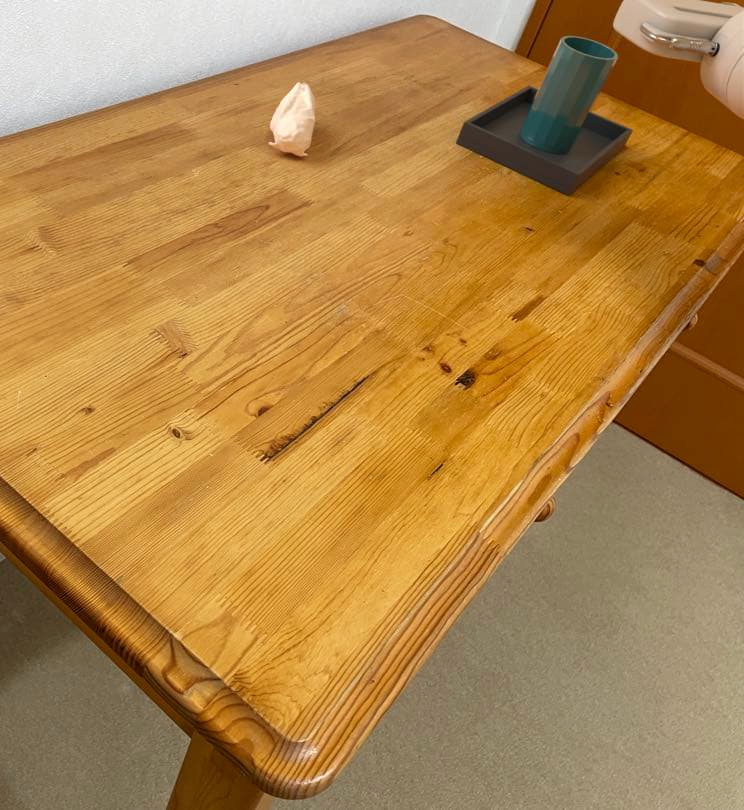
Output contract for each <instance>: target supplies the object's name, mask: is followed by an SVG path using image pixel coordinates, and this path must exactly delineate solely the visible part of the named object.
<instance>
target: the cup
mask: <svg viewBox="0 0 744 810" xmlns="http://www.w3.org/2000/svg"><path fill="white" fill-rule="evenodd" d="M618 59H619V55H618V53H617V52H616V51H615V50H614V49H613V48H611V47H609V46H607V45H606V44H604V43H601V42H599V41H596V40H593V39H589V38H586V37H582V36H576V35H564V36H562V37H561V38H560V40H559V42H558V44H557V47H556V49H555V50H554V53H553V55H552V58H551V60H550V62H549V64H548V67H547V69H546V71H545V73H544V75H543V78H542V80H541V82H540V83H539V86H538V88H537V89H538V91H537V93H536V95H535V98H534V100H533V102H532V104H531V107H530V109H529V111H528V113H527V115H526V118H525V120H524V122H523V124H522V128H521V130H520V133H519V134H520V137H521V138H522V139H523V140H524V141H525V142H526V143H528V144H529V145H531V146H533V147H535V148H537V149H540V150H542V151H546V152H550V153H555V154H565V153H568V152H570V151H571V149H572V147H573V145H574V144H575V142H576V140H577V138H578V136H579V134H580V132H581V130H582V128H583V126H584V124H585V122H586V120H587V118H588V116H589V114H590V112H592V110H593V108H594V107H595V104H596V103H597V101H598V98H599V97H600V94H601V92H602V91H603V88H604V86H605V84H606V82H607V81H608V78H609V76H610V74H611V73H612V70H613V68H614V67H615V64H616V62H617V61H618Z"/></svg>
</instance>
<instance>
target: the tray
mask: <svg viewBox="0 0 744 810" xmlns="http://www.w3.org/2000/svg"><path fill="white" fill-rule="evenodd" d="M538 89H539V88H536V87H534V86H532V85H527V86H525V87H524V88H522V89H520V90H518V91H517V92H514V93H513V94H511V95H509V96H507V97H506V98H504V99H502V100H500V101H498V102H496V103H495V104H493V105H492V106H490V107H488V108H486V109H485V110H483V111H481V112H480V113H478V114H476V115H473V116H472V117H471V118H469V119H466V120H465V121H464V122H463V124H462V126H461V129H460V131H459V134H458V137H457V139H456V142H455V143H456V145H459V146H462V147H463V148H466V149H467V150H470V151H472V152H474V153H476V154H479V155H480V156H483V157H484V158H487V159H489V160H491V161H494V162H495V163H498V164H499V165H502V166H504V167H505V168H508V169H510V170H512V171H515V172H517V173H518V174H521V175H523V176H525V177H527V178H529V179H532V180H533V181H536V182H537V183H540V184H542V185H544V186H546V187H548V188H551V189H552V190H554V191H557V192H559V193H561V194H563V195H565V196H570V195H571V194H573V193H574V192H575V191H576V190H577V189H578V188H579V187H581V186H582V185H583V184H584V183H586V182H587V181H588V180H589V179H590V178H591V177H593V175H595V174H596V173H597V172H598V171H599V170H601V169H602V168H603V167H604V166H605V165H606V164H607V163H608V162H610V161H611V160H612V159H613V158H614V157H616V156H617V155H618V154H619V153H621V152H622V151H623V149H624V148H625V146H626V144H627V142H628V140H629V139H630V137H631V135H632V133H633V131H634V130H633V129H632V128H630V127H627V126H625V125H623V124H620V123H618V122H615V121H613V120H611V119H609V118H606V117H604V116H602V115H599V114H597V113H595V112H592V111H591V112H590V114H589V116H588V118H587V120H586V122H585V124H584V126H583V128H582V130H581V132H580V134H579V136H578V138H577V140H576V142H575V144H574V145H573V147H572V149H571V151H570V152H568V153H565V154H555V153H550V152H546V151H542V150H540V149H537V148H535V147H533V146H531V145H529V144H528V143H526V142H525V141H524V140H523V139H522V138H521V137H520V134H519V133H520V130H521V128H522V124H523V122H524V120H525V118H526V115H527V113H528V111H529V109H530V107H531V104H532V102H533V100H534V98H535V95H536V93H537V91H538Z"/></svg>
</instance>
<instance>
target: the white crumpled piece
mask: <svg viewBox="0 0 744 810" xmlns="http://www.w3.org/2000/svg"><path fill="white" fill-rule="evenodd" d="M315 112H316V101H315V96H314V94H313V92H312V90H311V87H310V86H309V84H308V83H306V81H303V82H302V83H301V82H299V81H298V82H296V84H295V85H294V86H293V87H292V89H291V90H290V91H288V93H287V94H286V95H285V96H284V97H283V98H282V100H281V101H280V103H279V104H278V106H277V107H276V109H275V111H274V114H273V115H272V118H271V120H270V123H269V129H270V131H271V132H272V134H273V138H274V142H271V141H269V142H268V145H269V146H271V147H273V148H274V149H276V150H278V151H281V152H283V153H290V154H293V155H294V156H298V157H307V156H309V154H308V153H305V151H307V150H308V149H310V146H311V143H312V138H313V133H314V127H315V124H316V113H315Z"/></svg>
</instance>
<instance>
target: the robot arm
mask: <svg viewBox="0 0 744 810" xmlns="http://www.w3.org/2000/svg"><path fill="white" fill-rule="evenodd" d="M612 23H613V24H612V27H613V29H614V31H615V32H617V33H618V34H619V35H620V36H621V37H623V38H624V39H626V40H627V41H629V42H630V43H632V44H633V45H635V46H637V47H638V48H640V49H641V50H643V51H646V52H647V53H649V54H652V55H655V56H658V57H663V58H667V59H675V60H680V61H686V62H693V63H700V71H699V75H700V80H701V81H700V82H701V84H702V85H703V86H702V87H704V90H706V91H707V92H708V93H709V94H710V95H711V96H712V97H713V98H715V99H716V100H717V101H718V102H720V103H721V104H722V105H723V106H725V107H726V108H727V109H728V110H729V111H731V112H732V113H733V114H734V115H736V116H737V117H739V118H740V119H742V120H744V7H743V6H741V5H739V4H738V3H734V2H728V1H722V2H720V3H719V2H713V1H707V0H623V1H622V2H621V4H620V6H619V8H618V10H617V12H616V14H615V17H614V19H613V22H612Z"/></svg>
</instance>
